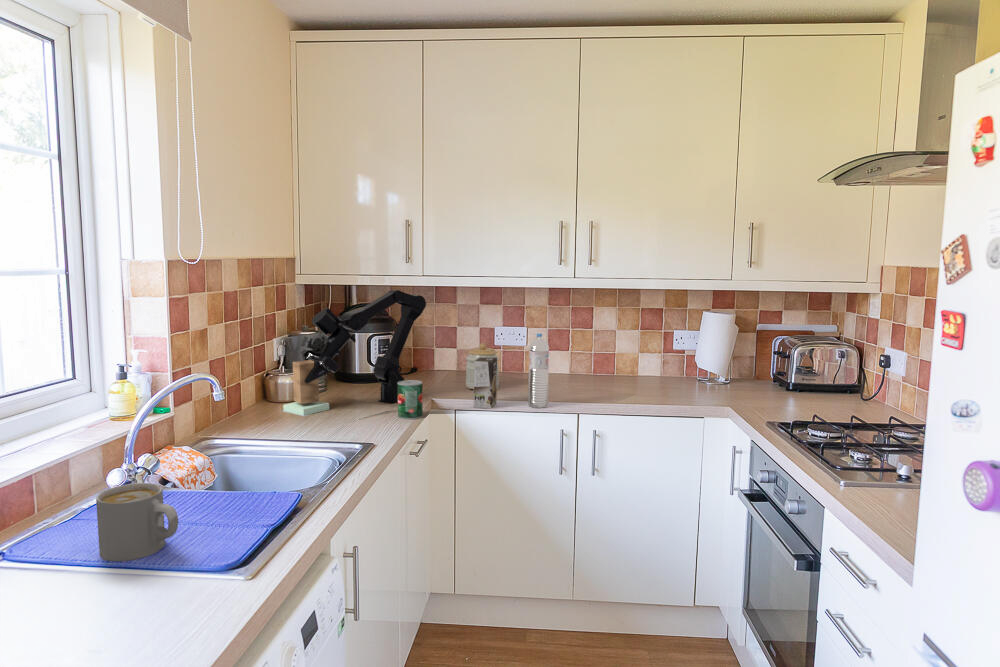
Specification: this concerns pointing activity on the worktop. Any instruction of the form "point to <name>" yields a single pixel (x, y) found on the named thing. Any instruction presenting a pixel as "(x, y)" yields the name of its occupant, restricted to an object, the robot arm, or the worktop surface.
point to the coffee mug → (133, 521)
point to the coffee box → (485, 382)
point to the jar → (473, 356)
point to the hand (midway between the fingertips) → (301, 380)
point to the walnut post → (304, 383)
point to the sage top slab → (306, 407)
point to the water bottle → (538, 373)
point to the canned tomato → (410, 399)
